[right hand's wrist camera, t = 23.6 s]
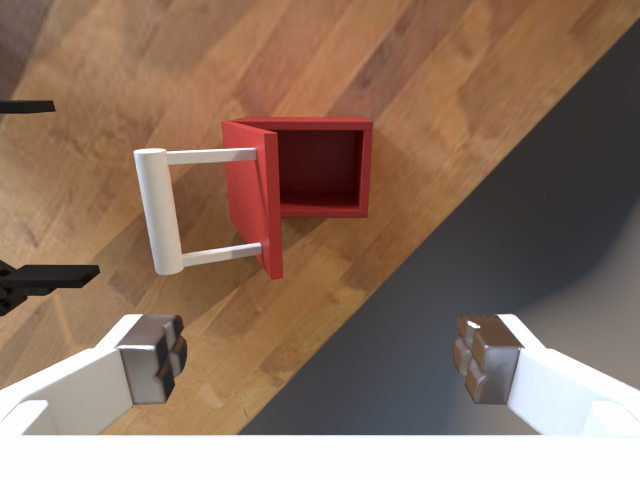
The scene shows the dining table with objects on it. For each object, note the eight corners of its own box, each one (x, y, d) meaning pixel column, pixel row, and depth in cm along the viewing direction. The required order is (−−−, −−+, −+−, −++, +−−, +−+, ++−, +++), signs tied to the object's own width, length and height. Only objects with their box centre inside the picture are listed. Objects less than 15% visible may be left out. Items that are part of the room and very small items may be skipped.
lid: (277, 132, 21) (127, 137, 18) (283, 278, 24) (158, 302, 21) (230, 121, 33) (137, 122, 30) (238, 218, 36) (155, 228, 33)
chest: (361, 117, 42) (373, 121, 33) (358, 195, 45) (367, 218, 37) (246, 117, 42) (227, 120, 33) (251, 195, 45) (235, 217, 36)
